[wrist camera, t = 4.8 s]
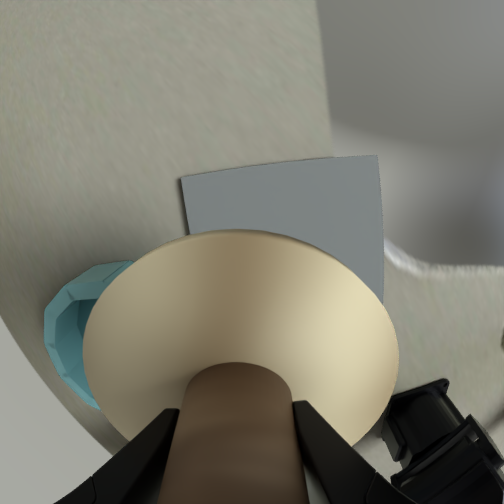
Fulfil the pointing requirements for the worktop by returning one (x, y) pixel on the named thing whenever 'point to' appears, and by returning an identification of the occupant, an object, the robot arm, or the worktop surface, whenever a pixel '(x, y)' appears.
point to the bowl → (76, 324)
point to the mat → (300, 207)
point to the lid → (239, 359)
